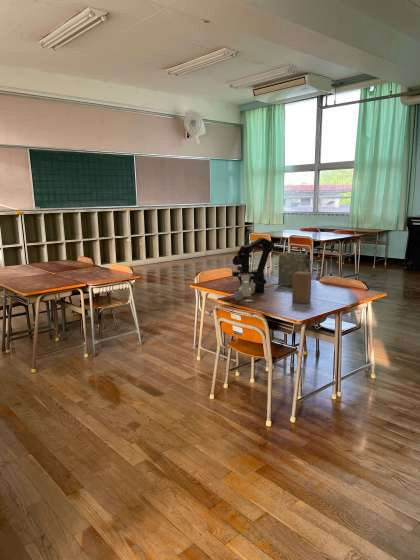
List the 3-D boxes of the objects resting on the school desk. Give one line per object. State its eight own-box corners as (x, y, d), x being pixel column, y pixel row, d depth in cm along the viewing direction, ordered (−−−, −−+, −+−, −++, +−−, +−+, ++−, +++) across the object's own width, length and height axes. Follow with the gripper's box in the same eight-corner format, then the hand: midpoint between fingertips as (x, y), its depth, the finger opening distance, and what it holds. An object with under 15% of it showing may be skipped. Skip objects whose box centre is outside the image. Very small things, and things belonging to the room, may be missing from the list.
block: (306, 304, 272) (307, 274, 268) (291, 302, 277) (292, 273, 273) (310, 301, 281) (312, 272, 277) (296, 299, 286) (297, 270, 282)
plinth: (250, 294, 304) (250, 287, 303) (250, 296, 296) (250, 289, 295) (239, 294, 304) (239, 287, 303) (239, 296, 296) (239, 289, 295)
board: (253, 299, 286) (253, 299, 286) (255, 301, 280) (256, 301, 280) (242, 300, 285) (242, 299, 285) (244, 302, 279) (244, 301, 279)
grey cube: (241, 298, 291) (241, 291, 290) (242, 299, 286) (242, 292, 285) (234, 298, 291) (234, 291, 290) (235, 300, 286) (235, 293, 285)
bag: (310, 285, 330) (312, 251, 325) (303, 289, 317) (304, 253, 312) (284, 282, 343) (285, 249, 337) (276, 286, 330) (277, 251, 324)
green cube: (247, 287, 302) (247, 281, 301) (249, 289, 297) (249, 282, 296) (241, 288, 301) (241, 281, 300) (242, 289, 296) (242, 282, 295)
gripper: (255, 261, 305) (255, 282, 308) (230, 262, 302) (230, 283, 305) (259, 264, 294) (258, 285, 297) (233, 264, 291) (233, 286, 294)
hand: (245, 285), depth 299 cm, fingers open, 6 cm apart
